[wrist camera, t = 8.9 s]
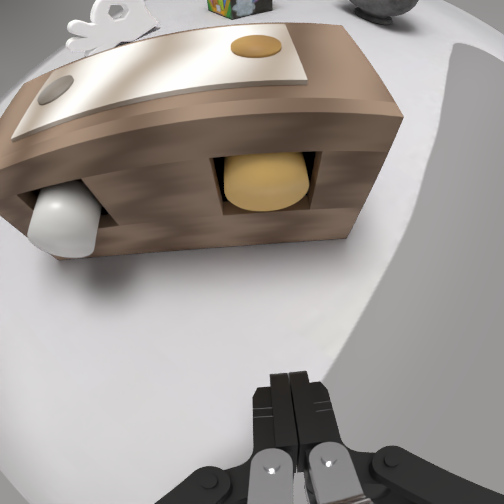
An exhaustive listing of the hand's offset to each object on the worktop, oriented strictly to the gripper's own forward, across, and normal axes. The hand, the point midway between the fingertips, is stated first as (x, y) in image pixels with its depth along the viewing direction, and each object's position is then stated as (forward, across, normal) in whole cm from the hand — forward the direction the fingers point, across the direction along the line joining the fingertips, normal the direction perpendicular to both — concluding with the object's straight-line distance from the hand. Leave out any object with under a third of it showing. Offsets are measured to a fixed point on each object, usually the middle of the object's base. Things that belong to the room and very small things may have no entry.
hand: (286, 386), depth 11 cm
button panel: (+15, +6, -6) cm, 17 cm away
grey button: (+8, +12, -5) cm, 15 cm away
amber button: (+9, 0, -6) cm, 11 cm away
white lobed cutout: (+40, +22, -30) cm, 55 cm away
